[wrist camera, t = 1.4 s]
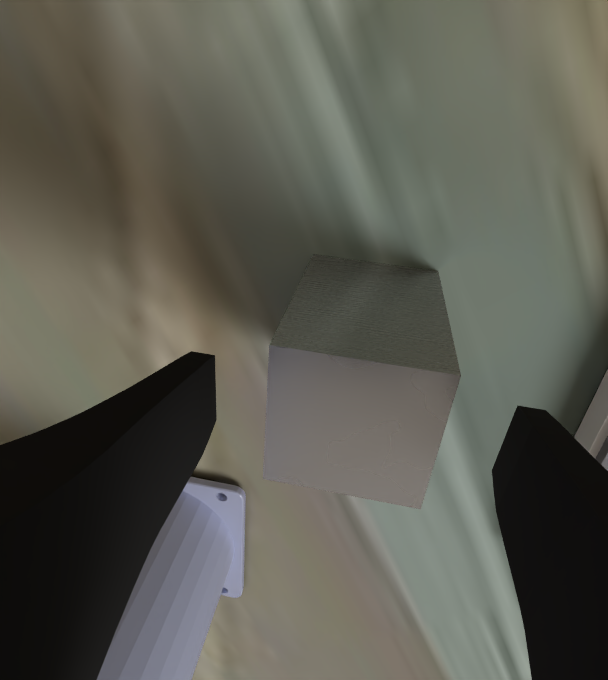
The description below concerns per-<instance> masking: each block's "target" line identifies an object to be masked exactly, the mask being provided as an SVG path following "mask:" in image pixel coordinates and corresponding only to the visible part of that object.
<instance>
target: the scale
mask: <svg viewBox="0 0 608 680" xmlns="http://www.w3.org/2000/svg"><path fill="white" fill-rule="evenodd" d="M574 438H575V439H576V440H577V441H578V442H579V443H580V444H581V445H582V446H583V447H584V448H585V449H586V450H587V451H588V452H589V453H590V454H591V455H592V456H593V457H594V458H595V459H596V460H597V461H598V462H599V463H600V464H601V465H602V466H603V467H604V468H605V469H606V470H607V471H608V369H607V371H606V373H605V375H604V378H603V380H602V382H601V384H600V386H599V388H598V390H597V392H596V394H595V396H594V398H593V400H592V402H591V404H590V406H589V408H588V410H587V412H586V414H585V416H584V418H583V420H582V422H581V424H580V426H579V428H578V430H577V432H576V434H575V436H574Z"/></svg>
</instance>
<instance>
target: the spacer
mask: <svg viewBox="0 0 608 680" xmlns="http://www.w3.org/2000/svg"><path fill="white" fill-rule="evenodd" d="M460 377H461V373H460V369H459V364H458V360H457V355H456V350H455V346H454V341H453V337H452V332H451V327H450V323H449V318H448V314H447V309H446V304H445V300H444V295H443V291H442V286H441V281H440V277H439V272H438V271H433V270H425V269H418V268H411V267H403V266H396V265H389V264H381V263H374V262H366V261H359V260H352V259H344V258H337V257H330V256H322V255H315V254H313V256H312V258H311V260H310V262H309V264H308V266H307V268H306V270H305V272H304V274H303V276H302V279H301V281H300V283H299V285H298V287H297V289H296V291H295V293H294V295H293V297H292V299H291V301H290V303H289V305H288V307H287V310H286V312H285V314H284V316H283V318H282V320H281V322H280V324H279V326H278V328H277V330H276V332H275V334H274V336H273V339H272V341H271V343H270V345H269V363H268V384H267V405H266V426H265V447H264V468H263V479H267V480H272V481H278V482H283V483H288V484H293V485H298V486H303V487H309V488H314V489H319V490H324V491H329V492H335V493H340V494H345V495H350V496H355V497H360V498H366V499H371V500H376V501H381V502H386V503H391V504H397V505H402V506H407V507H412V508H417V509H421V506H422V503H423V500H424V496H425V493H426V490H427V486H428V483H429V480H430V476H431V473H432V470H433V466H434V463H435V460H436V457H437V453H438V450H439V447H440V443H441V440H442V437H443V433H444V430H445V427H446V423H447V420H448V417H449V414H450V410H451V407H452V404H453V400H454V397H455V394H456V390H457V387H458V384H459V380H460Z"/></svg>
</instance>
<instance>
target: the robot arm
mask: <svg viewBox="0 0 608 680" xmlns="http://www.w3.org/2000/svg"><path fill="white" fill-rule="evenodd" d="M215 422H216V383H215V355H210V354H204V353H198V352H192V351H191V352H189V353H188V354H186V355H184V356H182V357H180V358H179V359H177V360H175V361H173V362H172V363H170V364H168V365H167V366H165V367H163V368H162V369H160V370H158V371H157V372H155V373H153V374H152V375H150V376H148V377H147V378H145V379H143V380H141V381H140V382H138V383H136V384H135V385H133V386H131V387H129V388H128V389H126V390H124V391H122V392H120V393H118V394H116V395H115V396H113V397H111V398H109V399H107V400H105V401H103V402H101V403H99V404H97V405H96V406H94V407H92V408H90V409H88V410H86V411H84V412H82V413H80V414H78V415H75V416H73V417H71V418H69V419H67V420H64V421H62V422H60V423H57V424H55V425H53V426H50V427H48V428H46V429H43V430H41V431H38V432H36V433H33V434H31V435H28V436H25V437H22V438H19V439H17V440H14V441H11V442H8V443H5V444H3V445H0V680H191V679H192V676H193V674H194V671H195V668H196V665H197V662H198V659H199V656H200V653H201V650H202V647H203V644H204V642H205V639H206V636H207V633H208V630H209V627H210V624H211V621H212V618H213V615H214V612H215V610H216V607H217V604H218V601H219V598H220V595H224V596H229V597H234V598H236V597H240V596H241V594H242V591H243V588H244V545H245V499H246V495H245V492H244V491H243V489H242V488H240V487H238V486H236V485H231V484H226V483H220V482H215V481H210V480H205V479H200V478H195V477H191V475H192V473H193V471H194V469H195V468H196V466H197V464H198V462H199V460H200V459H201V457H202V455H203V453H204V450H205V448H206V445H207V443H208V440H209V438H210V435H211V433H212V430H213V427H214V425H215ZM492 476H493V487H494V497H495V505H496V512H497V517H498V521H499V525H500V529H501V533H502V537H503V542H504V546H505V550H506V554H507V558H508V562H509V566H510V570H511V574H512V578H513V581H514V585H515V589H516V593H517V597H518V601H519V605H520V610H521V615H522V619H523V624H524V629H525V635H526V642H527V649H528V656H529V662H530V669H531V676H532V680H608V471H607V470H606V469H605V468H604V467H603V466H602V465H601V464H600V463H599V462H598V461H597V460H596V459H595V458H594V457H593V456H592V455H591V454H590V453H589V452H588V451H587V450H586V449H585V448H584V447H583V446H582V445H581V444H580V443H579V442H578V441H577V440H576V439H575V438H574V437H573V436H572V435H571V434H570V433H569V432H568V431H567V430H566V429H565V428H564V427H563V426H562V425H561V424H560V423H559V422H558V421H557V420H556V419H555V418H554V417H552V416H551V415H550V414H549V413H548V412H547V411H546V410H541V409H535V408H529V407H523V406H517V408H516V411H515V413H514V416H513V418H512V421H511V423H510V426H509V429H508V431H507V434H506V436H505V439H504V441H503V444H502V446H501V449H500V451H499V454H498V456H497V459H496V461H495V464H494V467H493V469H492ZM222 493H223V494H222Z"/></svg>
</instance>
